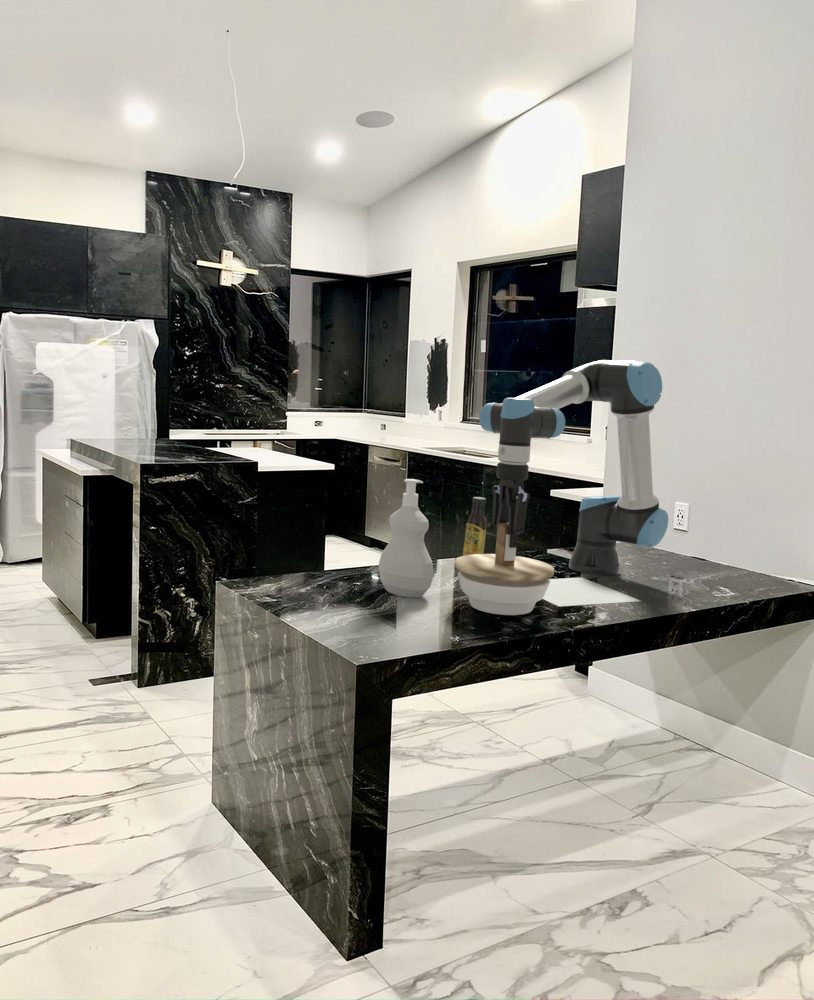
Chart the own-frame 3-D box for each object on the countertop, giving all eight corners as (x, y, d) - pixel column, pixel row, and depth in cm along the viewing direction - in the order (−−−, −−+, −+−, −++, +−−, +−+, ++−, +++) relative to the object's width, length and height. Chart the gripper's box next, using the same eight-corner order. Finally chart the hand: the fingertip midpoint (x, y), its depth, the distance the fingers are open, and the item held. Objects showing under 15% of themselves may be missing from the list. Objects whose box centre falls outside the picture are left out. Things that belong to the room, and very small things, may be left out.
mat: (581, 579, 250) (581, 577, 249) (641, 603, 226) (641, 600, 226) (504, 583, 239) (504, 581, 238) (558, 608, 215) (559, 606, 215)
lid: (519, 557, 226) (523, 515, 224) (573, 578, 204) (578, 532, 203) (438, 559, 216) (441, 515, 214) (486, 583, 194) (489, 534, 193)
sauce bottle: (458, 560, 265) (463, 496, 262) (471, 558, 269) (476, 495, 266) (475, 564, 260) (480, 499, 258) (487, 562, 265) (492, 498, 262)
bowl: (484, 592, 227) (487, 561, 226) (562, 610, 214) (565, 577, 213) (437, 608, 209) (440, 574, 208) (520, 628, 196) (523, 592, 195)
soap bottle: (443, 598, 218) (451, 483, 213) (408, 604, 210) (417, 485, 206) (399, 583, 230) (406, 474, 226) (365, 588, 222) (372, 476, 218)
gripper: (482, 458, 212) (475, 551, 216) (518, 466, 197) (509, 566, 201) (508, 459, 215) (500, 551, 219) (545, 467, 201) (536, 565, 204)
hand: (505, 558), depth 210 cm, fingers closed on lid, 3 cm apart
